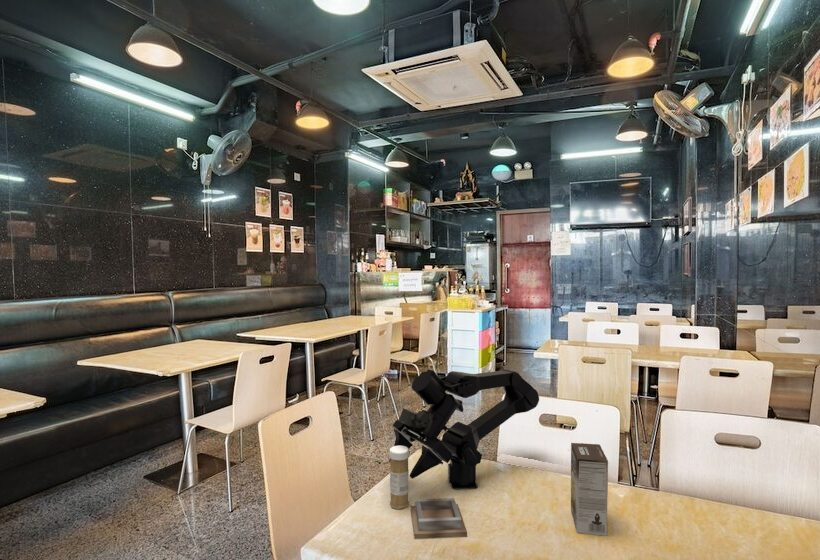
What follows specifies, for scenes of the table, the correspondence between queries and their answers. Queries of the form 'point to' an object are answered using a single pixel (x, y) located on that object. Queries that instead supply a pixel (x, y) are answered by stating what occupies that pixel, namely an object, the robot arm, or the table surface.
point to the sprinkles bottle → (399, 477)
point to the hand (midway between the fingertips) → (400, 469)
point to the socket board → (437, 519)
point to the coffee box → (589, 488)
